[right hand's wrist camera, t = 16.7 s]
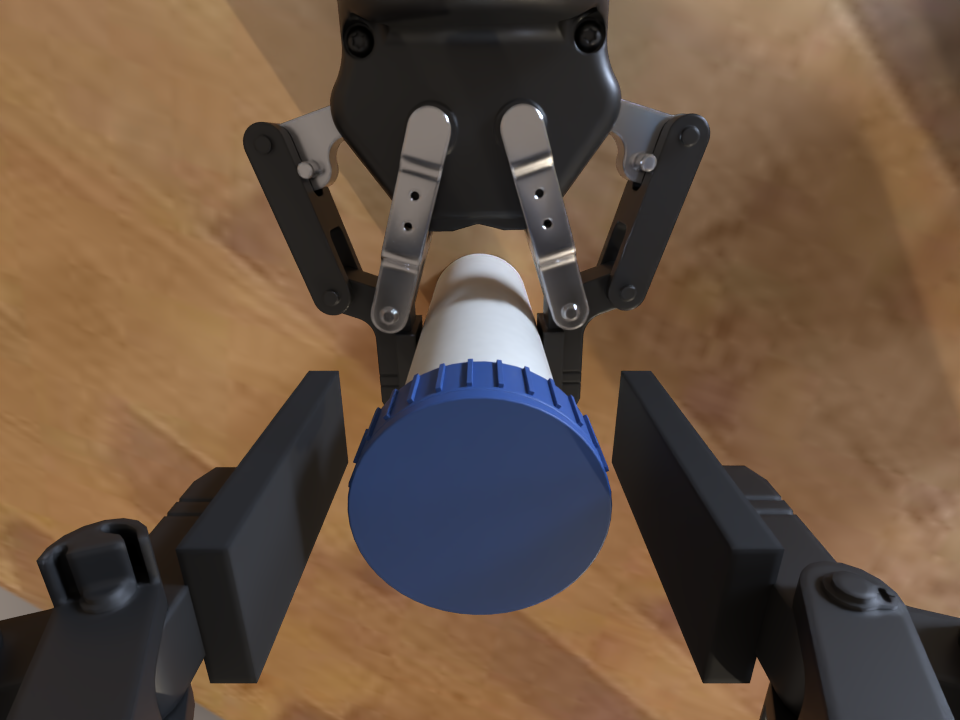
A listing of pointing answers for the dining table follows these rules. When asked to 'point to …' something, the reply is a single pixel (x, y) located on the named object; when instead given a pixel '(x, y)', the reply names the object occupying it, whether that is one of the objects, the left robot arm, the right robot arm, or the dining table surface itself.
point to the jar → (479, 319)
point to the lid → (479, 489)
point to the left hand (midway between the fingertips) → (482, 415)
